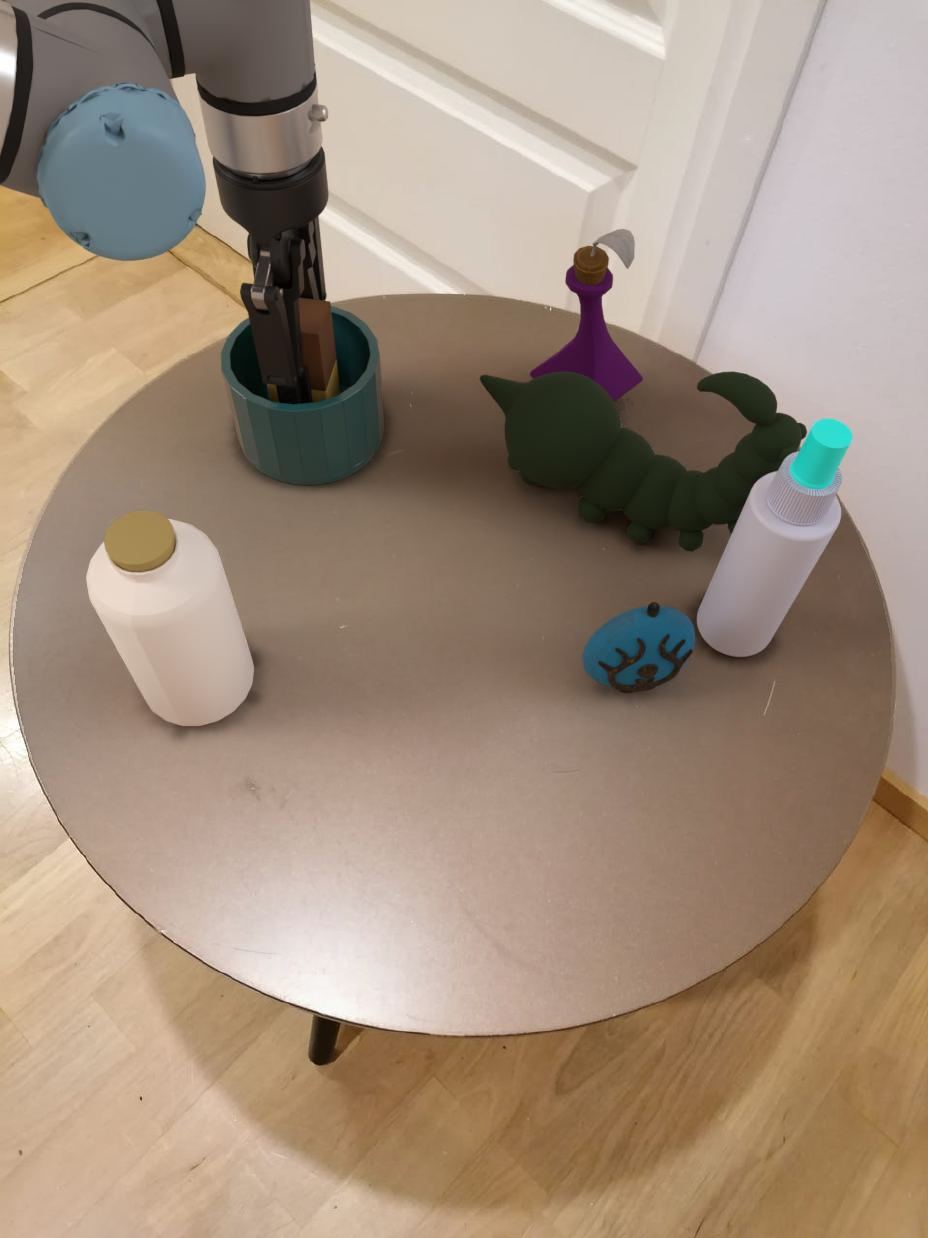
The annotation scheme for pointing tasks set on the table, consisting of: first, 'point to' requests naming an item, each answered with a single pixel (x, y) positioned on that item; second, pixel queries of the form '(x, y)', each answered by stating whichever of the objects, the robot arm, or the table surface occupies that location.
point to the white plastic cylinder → (171, 617)
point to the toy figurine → (638, 453)
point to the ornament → (640, 648)
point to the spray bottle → (775, 544)
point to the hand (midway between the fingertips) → (306, 404)
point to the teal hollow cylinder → (308, 409)
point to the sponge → (317, 350)
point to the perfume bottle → (595, 320)
